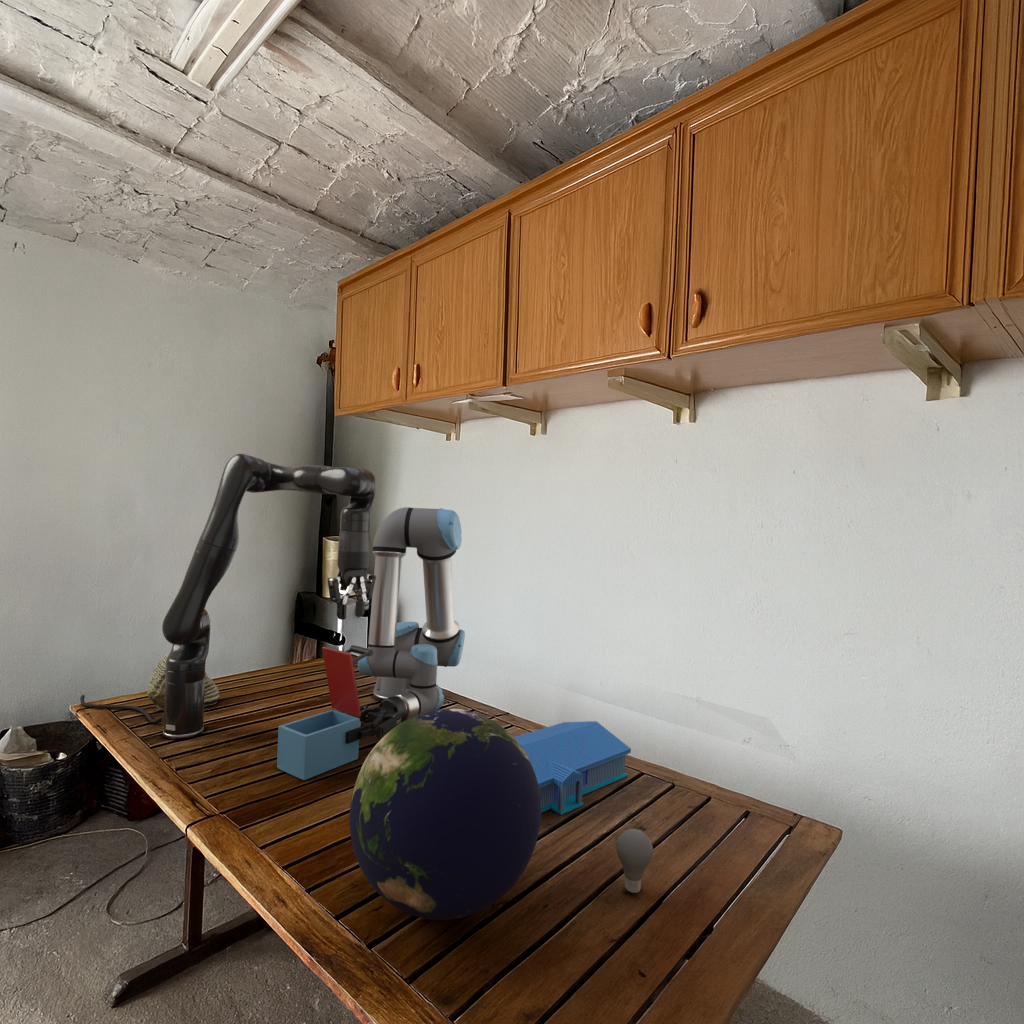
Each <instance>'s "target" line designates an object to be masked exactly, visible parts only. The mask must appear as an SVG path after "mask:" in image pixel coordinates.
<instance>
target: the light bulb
mask: <svg viewBox="0 0 1024 1024" xmlns="http://www.w3.org/2000/svg"><path fill="white" fill-rule="evenodd" d="M615 849H616V854H617V857H618V859H619V861H620V863H621V865H622V867H623V873H624V874H623V875H624V876H625V878H624V888H625V890H627V891H628V892H630V893H634V894H635V893H639V892H640V891H641V889H642V887H641V886H642V879H643V877H644V875H645V871H646V868H647V867H648V866H649V864H650V863H651V861H652V859H653V855H654V847H653V843H652V841H651V838H649V836H648V835H647V834H646V833H645V832H643V831H642V830H641V829H636V828H629V829H627V830H625V831H623V832H622V833H621V834H620V835H619V837H618V839H617V841H616V847H615Z"/></svg>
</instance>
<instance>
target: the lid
mask: <svg viewBox="0 0 1024 1024" xmlns="http://www.w3.org/2000/svg"><path fill="white" fill-rule="evenodd" d="M367 648H368V647H367ZM367 648H366V647H363V646H359V645H355V644H352V645H351V646H350V647H349V649H347V650H345V651H343V650H341V649H335V648H332V647H328V646H323V647H321V650H322V657H323V663H324V669H325V674H326V679H327V686H328V691H329V697H330V704H331V709H332V710H336V711H338V710H339V711H342V712H345V713H348V714H351V715H354V716H357V717H360V716H361V711H360V706H361V705H360V698H359V692H358V686H357V681H356V673H355V666H354V664H355V663H358V661H359V660H361V659H363V658H364V657H366V656H372V655H373V650H371V649H367ZM352 653H355V654H358V655H360V654H362V655H361V656H357V657H354V658H353V654H352Z"/></svg>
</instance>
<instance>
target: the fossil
mask: <svg viewBox="0 0 1024 1024" xmlns="http://www.w3.org/2000/svg"><path fill="white" fill-rule="evenodd" d="M168 655H169V654H165V655H164V656H163V657H162V658H161V659H160V660H159V662H158V663H157V666H156V667H155V669H154V670H153V672H152V675H151V677H150V680H149V684H148V688H147V697H148V699H149V700H150V701H152V703H153V704H154V706H155V711H158V712H159V711H162V712H163V711H164V705H165V674H166V659H167V657H168ZM220 698H221V696H220V690H219V688H218V686H217V685H216V683H215V682H214V681H213V679H212V678H211V677H209V675H208V674H207V672H206V671H205V693H204V707H207V706H213V705H215V704H217V703H218V701H219V699H220Z"/></svg>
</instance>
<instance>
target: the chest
mask: <svg viewBox="0 0 1024 1024" xmlns="http://www.w3.org/2000/svg"><path fill="white" fill-rule="evenodd" d="M358 727H361V725H360V718H357V717H354V716H351V715H348V714H345V713H342V712H339V711H338V710H336V709H330V710H327V711H323V712H320V713H317V714H314V715H310V716H307V717H303V718H300V719H297V720H294V721H290V722H287V723H284V724H280V725H278V731H277V754H276V769H277V770H280V771H282V772H284V773H287V774H289V775H290V776H293V777H296V778H298V779H299V780H302V781H306V780H309V779H311V778H313V777H316V776H319V775H321V774H324V773H326V772H328V771H331V770H333V769H337V768H338V767H341V766H343V765H346V764H348V763H352V762H353V761H356V760H358V759H359V752H360V751H359V750H360V740H357V741H354V742H352V743H349V744H347V743H346V732H347V731H350V730H353V729H356V728H358Z"/></svg>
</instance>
